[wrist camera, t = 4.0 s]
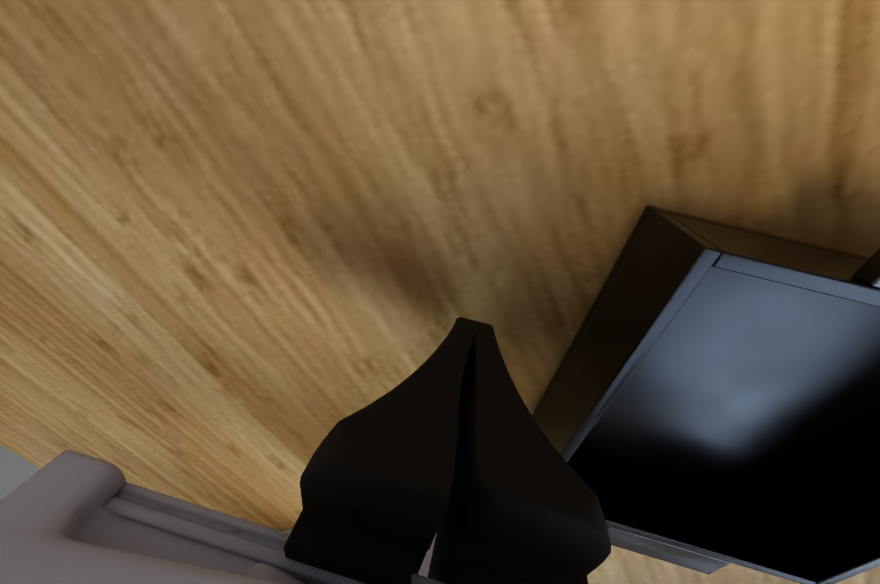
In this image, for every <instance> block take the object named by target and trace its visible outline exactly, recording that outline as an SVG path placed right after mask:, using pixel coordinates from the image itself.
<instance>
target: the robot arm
mask: <svg viewBox="0 0 880 584" xmlns="http://www.w3.org/2000/svg"><path fill="white" fill-rule="evenodd" d="M300 488H301V497H302V506H303V510H302V512H301V514H300V516H299V518H298V520H297V522H296V524H295V526H294V528H293V530H292V531H291V533H290V534H288V533H285V532H282V531H279V530H276V529H273V528H269V527H266V526H263V525H260V524H257V523H254V522H251V521H247V520H244V519H241V518H238V517H235V516H232V515H229V514H225V513H222V512H219V511H216V510H213V509H210V508H206V507H203V506H200V505H197V504H194V503H191V502H188V501H184V500H181V499H178V498H175V497H172V496H169V495H166V494H162V493H159V492H156V491H153V490H150V489H147V488H143V487H140V486H137V485H134V484H131V483H128V482H126V478H125V476H124V474H123V473H122V471H121V470H120V469H119V468H118V467H116V466H115V465H113V464H112V463H109V462H107V461H104V460H101V459H98V458H95V457H92V456H89V455H85V454H82V453H79V452H76V451H73V450H66V451H64V452H62V453H61V454H60V455H58V456H57V457H56V458H55V459H53V460H52V461H51V462H50V463H48V464H47V465H46V466H44V467H43V468H42V469H41V470H39V471H38V472H37V473H35V474H34V475H33V476H32V477H30V478H29V479H28V480H26V481H25V482H24V483H23V484H21V485H20V486H19V487H17V488H16V489H15V490H14V491H12V492H11V493H10V494H8V495H7V496H6V497H5V498H3V499H2V500H1V501H0V584H588V580H587V575H588V574H589V573H590V572H592V571H593V570H594V569H595V568H597V567H598V566H599V565H600V564H601V563H603V562H604V560H605V559H606V558H607V557H608V555H609V554H610V553H611V542H610V537H609V533H608V529H607V525H606V521H605V518H604V514H603V511H602V509H601V506H600V503H599V500H598V496H597V495H596V494H595V493H594V492H593V490H592V489H591V488H590V487H589V486H588V485H587V484H586V483H585V482H584V481H583V480H582V479H581V477H580V476H579V475H578V474H577V473H576V472H575V471H574V470H573V469H572V468H571V467H570V465H569V464H568V463H567V462H566V461H565V460H564V458H563V457H562V456H561V455H560V453H559V452H558V451H557V450H556V449H555V447H554V446H553V445H552V444H551V442H550V441H549V439H548V438H547V437H546V435H545V434H544V433H543V431H542V430H541V428H540V427H539V426H538V424H537V423H536V421H535V420H534V418H533V417H532V415H531V414H530V412H529V410H528V409H527V407H526V405H525V404H524V402H523V400H522V398H521V397H520V395H519V393H518V391H517V389H516V387H515V385H514V383H513V381H512V379H511V377H510V374H509V372H508V370H507V368H506V365H505V363H504V360H503V358H502V355H501V352H500V350H499V347H498V344H497V340H496V337H495V333H494V329H493V327H492V325H489V324H485V323H481V322H478V321H474V320H470V319H466V318H462V317H459V318H457V319H456V322H455V324H454V326H453V328H452V329H451V331H450V333H449V334H448V336H447V337H446V338H445V340H444V341H443V342H442V343H441V345H440V346H439V347H438V348H437V350H436V351H435V352H434V353H433V354H432V355H431V356H430V357H429V358H428V359H427V360H426V361H425V362H424V363H423V364H422V365H421V366H420V367H419V368H418V369H417V370H416V371H415V372H414V373H413V374H412V375H410V376H409V377H408V378H407V379H405V380H404V381H403V382H402V383H400V384H399V385H398V386H397V387H395V388H394V389H393V390H391V391H390V392H388V393H387V394H385V395H384V396H382V397H381V398H379V399H377V400H376V401H374V402H373V403H371V404H370V405H368V406H366V407H365V408H363V409H361V410H359V411H357V412H355V413H354V414H352V415H350V416H348V417H346V418H344V419H342V420H340V421H339V422H338V423H337V424H336V425H335V426H334V428H333V429H332V430H331V431H330V432H329V433H328V435H327V436H326V437H325V439H324V440H323V441H322V442H321V444H320V445H319V447H318V448H317V449H316V451H315V453H314V454H313V456H312V458H311V459H310V461H309V463H308V465H307V467H306V468H305V470H304V472H303V474H302V476H301V480H300Z"/></svg>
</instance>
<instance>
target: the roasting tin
mask: <svg viewBox="0 0 880 584" xmlns="http://www.w3.org/2000/svg"><path fill="white" fill-rule="evenodd" d="M532 417H533V418H534V420H535V421H536V423H537V424H538V426H539V427H540V428H541V430H542V431H543V433H544V434H545V435H546V437H547V438H548V439H549V441H550V442H551V444H552V445H553V446H554V447H555V449H556V450H557V451H558V452H559V453H560V455H561V456H562V457H563V458H564V460H565V461H566V462H567V463H568V464H569V465H570V467H571V468H572V469H573V470H574V471H575V472H576V473H577V474H578V475H579V476H580V477H581V479H582V480H583V481H584V482H585V483H586V484H587V485H588V486H589V487H590V488H591V489H592V490H593V492H594V493H595V494H596V495H597V496H598V500H599V503H600V506H601V509H602V511H603V514H604V518H605V521H606V525H607V529H608V533H609V537H610V542H611V545H613V546H617V547H620V548H623V549H627V550H630V551H633V552H637V553H640V554H643V555H647V556H650V557H653V558H657V559H660V560H663V561H666V562H670V563H673V564H676V565H680V566H683V567H686V568H690V569H693V570H696V571H700V572H703V573H706V574H711V573H713V572H714V571H716V570H718V569H720V568H722V567H723V566H725V565H727V564H729V563H730V562H731V563H734V564H738V565H741V566H744V567H748V568H751V569H754V570H758V571H761V572H765V573H768V574H771V575H775V576H778V577H781V578H785V579H788V580H791V581H795V582H798V583H801V584H834V583H836V582H839V581H841V580H844V579H846V578H849V577H852V576H854V575H857V574H859V573H862V572H864V571H867V570H869V569H872V568H874V567H877V566H879V565H880V249H879V250H878V251H877V252H876V253H874V254H873V255H872V256H871V257H870V258H869V257H864V256H860V255H856V254H852V253H847V252H843V251H839V250H835V249H830V248H826V247H822V246H818V245H813V244H809V243H805V242H801V241H796V240H792V239H788V238H784V237H779V236H775V235H771V234H767V233H762V232H758V231H754V230H750V229H745V228H741V227H737V226H733V225H728V224H724V223H720V222H716V221H711V220H707V219H703V218H699V217H694V216H690V215H686V214H682V213H677V212H673V211H669V210H665V209H660V208H656V207H652V206H647V207H646V209H645V211H644V213H643V215H642V216H641V218H640V220H639V222H638V224H637V226H636V227H635V229H634V231H633V233H632V235H631V236H630V238H629V240H628V242H627V244H626V246H625V247H624V249H623V251H622V253H621V255H620V257H619V258H618V260H617V262H616V264H615V266H614V267H613V269H612V271H611V273H610V275H609V277H608V278H607V280H606V282H605V284H604V286H603V288H602V289H601V291H600V293H599V295H598V297H597V298H596V300H595V302H594V304H593V306H592V308H591V309H590V311H589V313H588V315H587V317H586V319H585V320H584V322H583V324H582V326H581V328H580V329H579V331H578V333H577V335H576V337H575V339H574V340H573V342H572V344H571V346H570V348H569V350H568V351H567V353H566V355H565V357H564V359H563V360H562V362H561V364H560V366H559V368H558V370H557V371H556V373H555V375H554V377H553V379H552V381H551V382H550V384H549V386H548V388H547V390H546V392H545V393H544V395H543V397H542V399H541V401H540V402H539V404H538V406H537V408H536V410H535V412H534V413H533V415H532Z"/></svg>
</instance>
